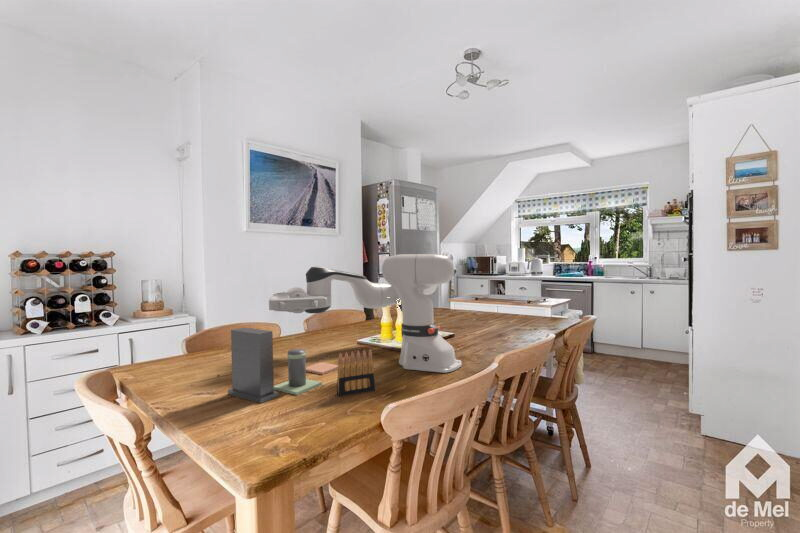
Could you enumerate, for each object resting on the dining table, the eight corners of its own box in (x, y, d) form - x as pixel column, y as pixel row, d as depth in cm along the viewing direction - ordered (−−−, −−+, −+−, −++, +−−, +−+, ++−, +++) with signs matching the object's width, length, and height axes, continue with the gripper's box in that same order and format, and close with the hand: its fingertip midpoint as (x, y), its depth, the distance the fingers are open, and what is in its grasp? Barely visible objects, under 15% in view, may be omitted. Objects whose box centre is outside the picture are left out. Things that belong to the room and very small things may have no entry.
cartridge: (310, 383, 116) (309, 350, 116) (297, 388, 111) (296, 353, 111) (297, 380, 118) (297, 348, 118) (284, 385, 114) (283, 351, 114)
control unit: (278, 396, 108) (277, 331, 107) (260, 403, 102) (259, 335, 102) (246, 387, 115) (244, 326, 114) (227, 394, 110) (226, 330, 109)
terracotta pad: (340, 367, 134) (340, 365, 134) (322, 374, 126) (322, 372, 126) (321, 364, 139) (321, 362, 139) (302, 370, 131) (302, 368, 131)
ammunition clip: (338, 396, 107) (337, 353, 106) (336, 394, 108) (336, 352, 108) (375, 390, 111) (374, 349, 111) (372, 388, 113) (372, 347, 113)
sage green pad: (321, 384, 117) (321, 382, 117) (297, 395, 108) (296, 392, 108) (298, 379, 122) (297, 377, 122) (272, 389, 113) (272, 386, 113)
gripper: (325, 308, 149) (330, 313, 135) (269, 310, 142) (268, 316, 129) (325, 291, 148) (330, 295, 135) (269, 293, 142) (268, 297, 129)
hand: (299, 305), depth 132 cm, fingers open, 8 cm apart
